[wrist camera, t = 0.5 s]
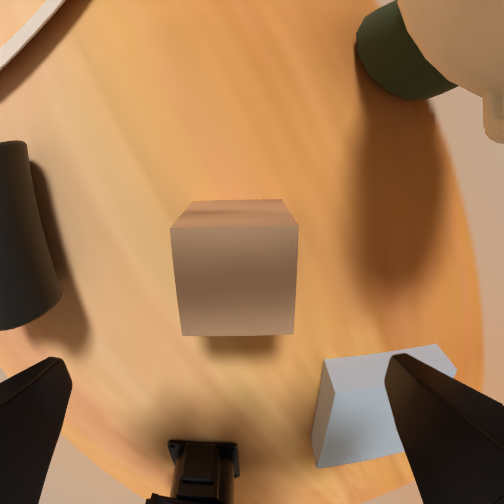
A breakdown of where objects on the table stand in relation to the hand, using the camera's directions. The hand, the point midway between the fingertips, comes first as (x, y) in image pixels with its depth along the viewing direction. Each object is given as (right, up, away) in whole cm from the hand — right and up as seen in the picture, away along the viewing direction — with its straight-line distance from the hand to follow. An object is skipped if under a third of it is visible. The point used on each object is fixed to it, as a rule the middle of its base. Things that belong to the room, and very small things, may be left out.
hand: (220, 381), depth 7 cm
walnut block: (0, +4, +11) cm, 12 cm away
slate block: (+11, -9, +16) cm, 22 cm away
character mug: (+10, +15, +8) cm, 20 cm away
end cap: (-15, +5, +10) cm, 19 cm away
